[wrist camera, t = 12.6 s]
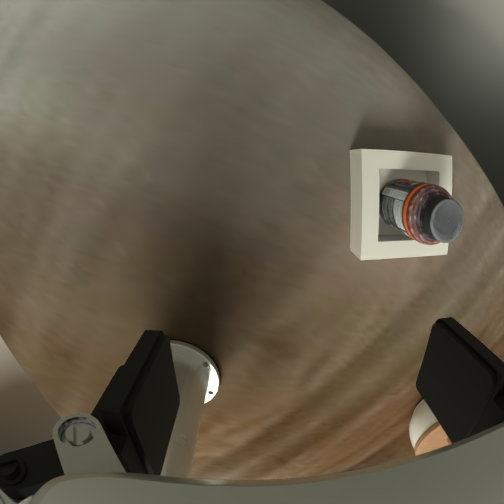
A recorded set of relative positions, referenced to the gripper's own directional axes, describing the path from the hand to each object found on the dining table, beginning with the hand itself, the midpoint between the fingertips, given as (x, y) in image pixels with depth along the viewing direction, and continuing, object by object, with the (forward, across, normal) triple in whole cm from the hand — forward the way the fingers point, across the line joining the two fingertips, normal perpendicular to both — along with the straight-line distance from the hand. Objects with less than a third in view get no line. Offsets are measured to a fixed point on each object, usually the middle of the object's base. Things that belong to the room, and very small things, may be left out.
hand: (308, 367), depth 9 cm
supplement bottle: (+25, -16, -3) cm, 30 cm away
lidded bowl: (+28, -32, +34) cm, 54 cm away
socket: (+26, -16, -3) cm, 31 cm away
